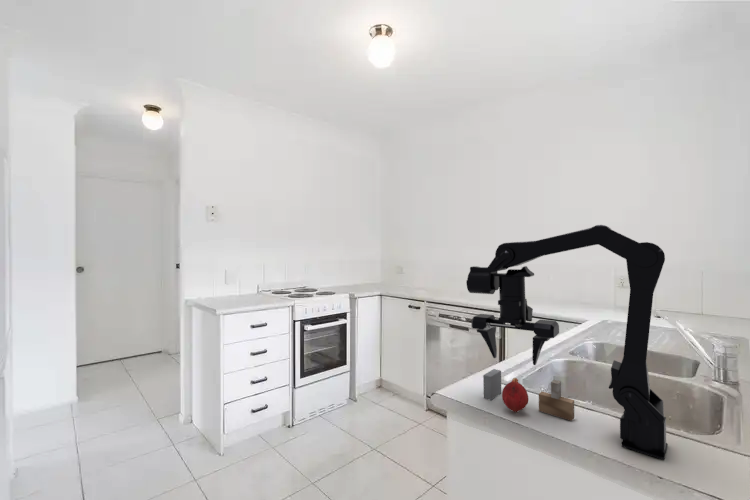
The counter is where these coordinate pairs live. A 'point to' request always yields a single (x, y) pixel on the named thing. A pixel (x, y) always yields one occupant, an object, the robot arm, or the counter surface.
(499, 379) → the jamb
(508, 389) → the onion
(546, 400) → the door
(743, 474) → the counter surface
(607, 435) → the counter surface
